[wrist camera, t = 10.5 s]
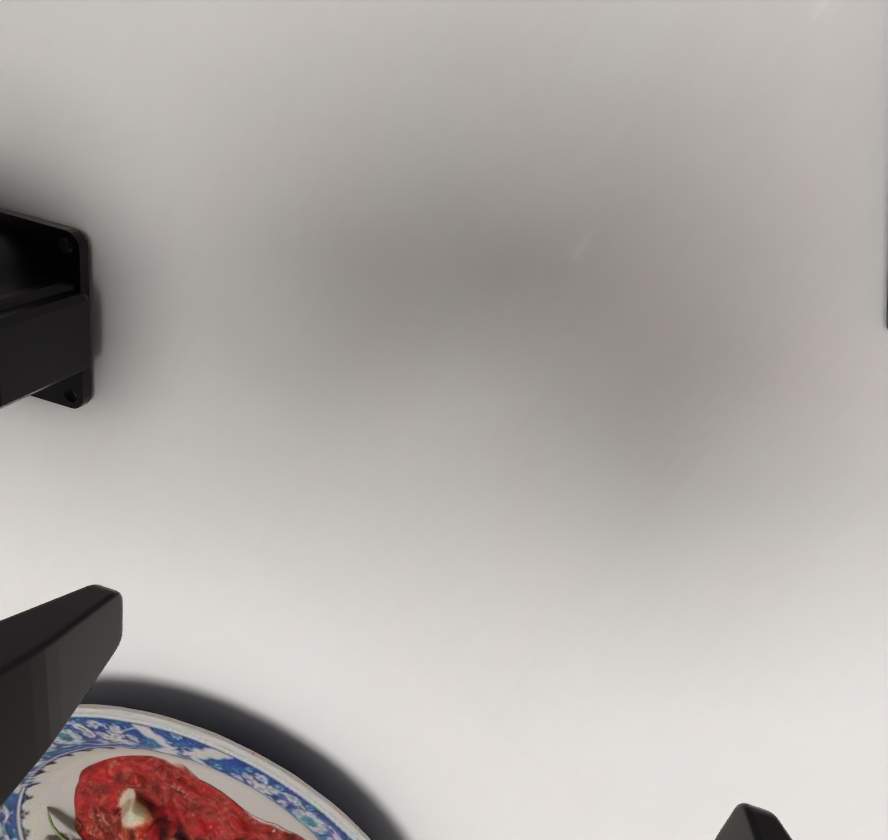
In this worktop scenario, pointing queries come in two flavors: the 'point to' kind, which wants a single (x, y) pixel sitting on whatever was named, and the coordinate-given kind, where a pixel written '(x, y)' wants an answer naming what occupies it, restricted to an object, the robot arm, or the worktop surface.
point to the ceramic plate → (162, 787)
